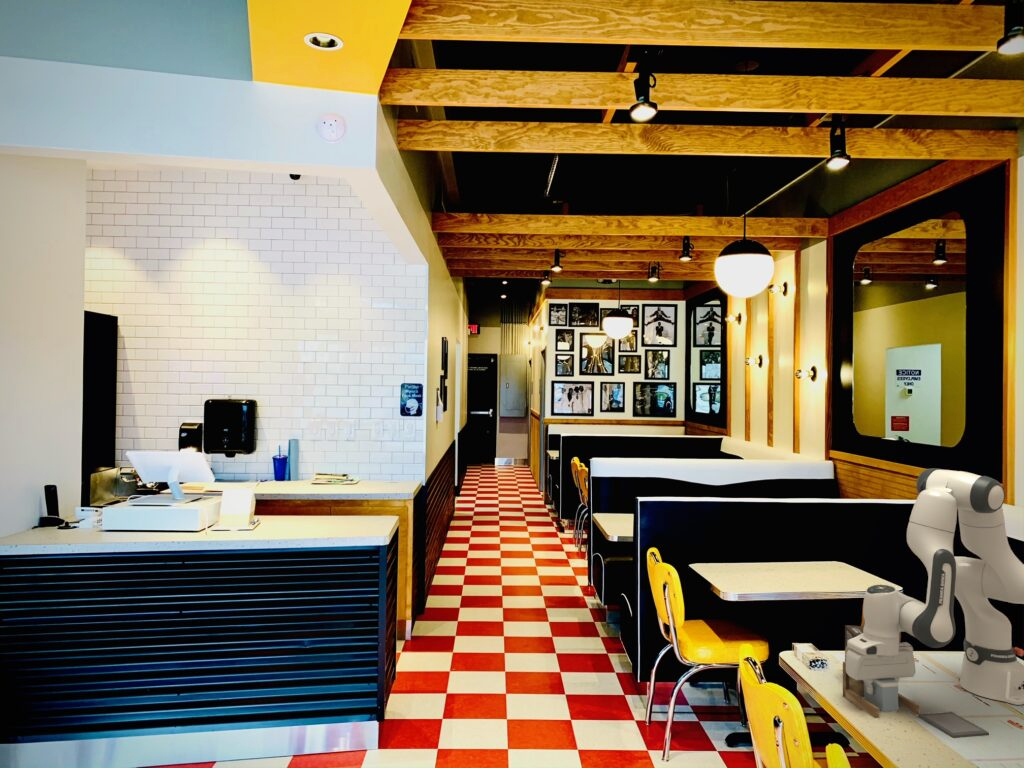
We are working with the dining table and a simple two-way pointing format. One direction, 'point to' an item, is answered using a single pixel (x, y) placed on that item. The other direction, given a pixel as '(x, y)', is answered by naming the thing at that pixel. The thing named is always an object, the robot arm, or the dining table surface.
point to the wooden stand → (854, 694)
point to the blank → (883, 694)
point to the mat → (953, 724)
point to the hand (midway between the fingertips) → (880, 692)
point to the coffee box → (851, 635)
